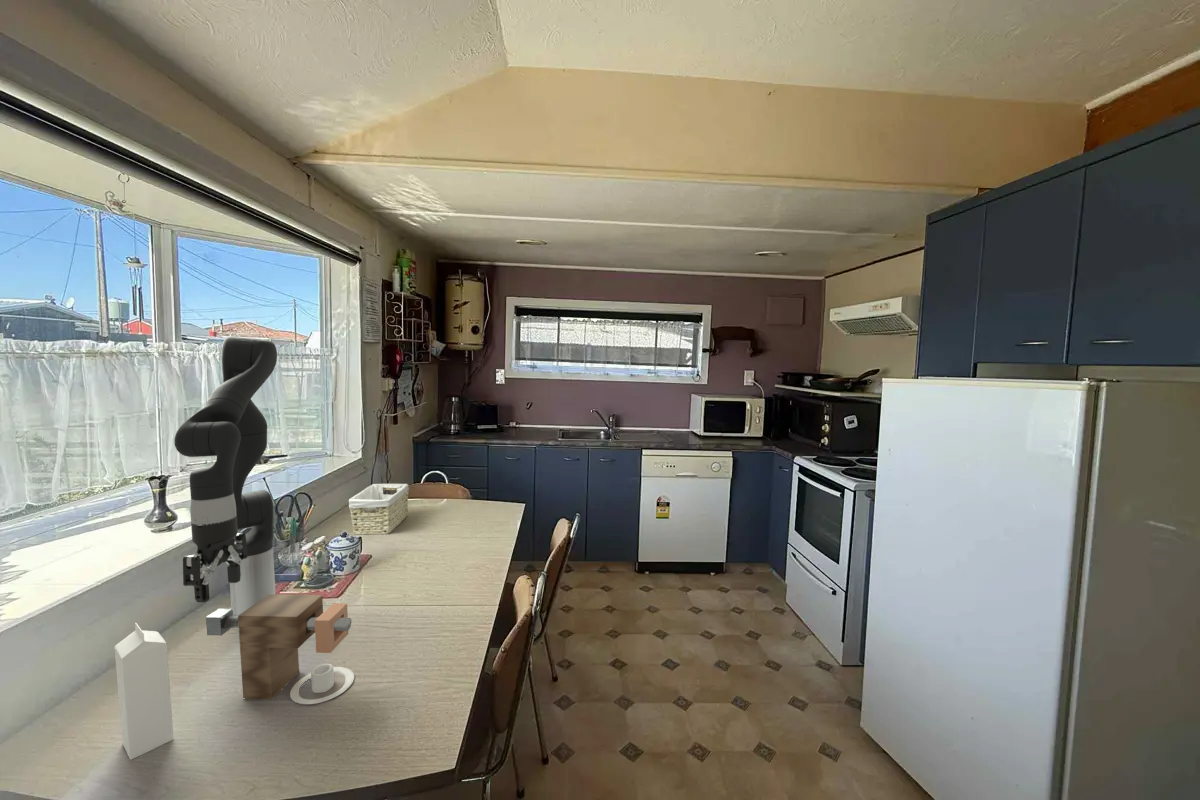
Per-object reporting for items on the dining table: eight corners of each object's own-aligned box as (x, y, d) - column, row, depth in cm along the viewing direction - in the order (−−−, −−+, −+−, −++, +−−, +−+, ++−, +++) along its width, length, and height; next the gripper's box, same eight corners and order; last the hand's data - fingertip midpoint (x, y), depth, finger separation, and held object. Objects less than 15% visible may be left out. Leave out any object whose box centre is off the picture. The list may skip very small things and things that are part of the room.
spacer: (316, 652, 102) (314, 620, 101) (334, 633, 109) (333, 603, 108) (330, 653, 101) (329, 620, 101) (348, 633, 108) (347, 603, 108)
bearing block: (243, 699, 102) (238, 615, 100) (272, 671, 111) (268, 594, 109) (300, 700, 102) (296, 616, 100) (325, 672, 110) (322, 595, 109)
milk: (165, 725, 94) (157, 614, 93) (174, 740, 91) (166, 625, 89) (121, 744, 90) (112, 628, 88) (129, 761, 86) (120, 640, 84)
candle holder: (295, 677, 109) (294, 659, 109) (355, 664, 114) (355, 647, 113) (285, 714, 98) (284, 693, 98) (352, 698, 103) (351, 678, 102)
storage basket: (390, 536, 193) (388, 499, 191) (347, 536, 192) (346, 499, 191) (411, 516, 216) (410, 483, 215) (373, 516, 216) (372, 483, 214)
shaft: (207, 635, 103) (205, 617, 103) (220, 626, 107) (218, 608, 107) (344, 637, 103) (343, 619, 103) (352, 628, 106) (352, 611, 106)
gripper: (222, 506, 110) (227, 576, 112) (166, 528, 96) (172, 608, 97) (256, 506, 110) (260, 576, 111) (204, 528, 96) (210, 608, 97)
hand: (219, 591), depth 104 cm, fingers open, 8 cm apart
